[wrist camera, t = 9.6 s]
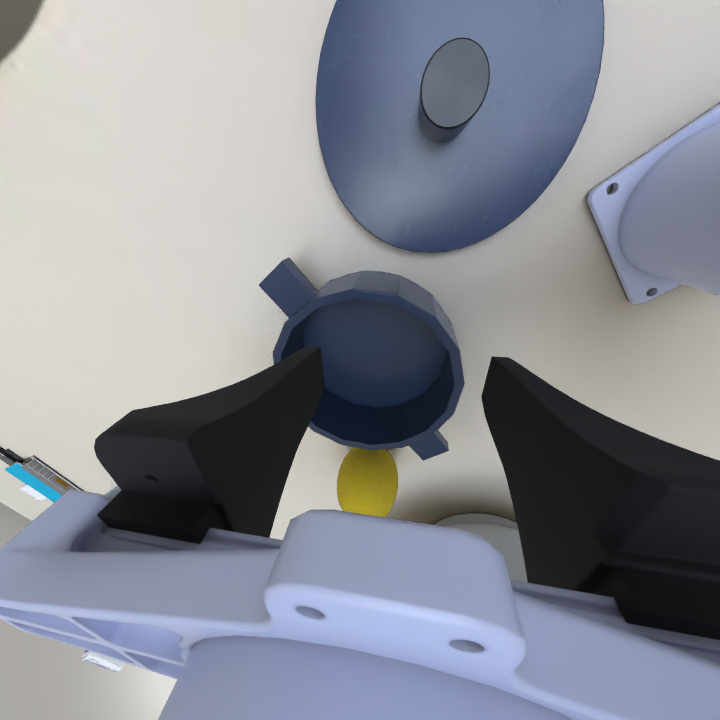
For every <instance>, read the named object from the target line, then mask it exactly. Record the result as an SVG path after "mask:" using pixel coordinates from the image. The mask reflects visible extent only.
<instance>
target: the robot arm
mask: <svg viewBox="0 0 720 720" xmlns="http://www.w3.org/2000/svg"><path fill="white" fill-rule="evenodd" d="M610 184H613V185H614V188H613V190H612V192H611V193H610V194H607V188H608V186H609V185H610ZM587 201H588V204H589V207H590V209H591V211H592V214H593V216H594V219H595V221H596V223H597V226H598V228H599V231H600V233H601V235H602V238H603V240H604V242H605V245H606V247H607V250H608V252H609V254H610V257H611V259H612V261H613V264H614V266H615V269H616V271H617V273H618V276H619V278H620V281H621V283H622V285H623V288H624V290H625V292H626V295H627V297H628V300H629V301H630V302H632V303H634V304H642V303H645V302H647V301H649V300H651V299H653V298H655V297H657V296H660V295H662V294H664V293H666V292H668V291H670V290H672V289H674V288H676V287H678V286H680V285H683V284H684V285H687V286H690V287H693V288H696V289H699V290H703V291H706V292H709V293H712V294H715V295H719V296H720V104H718V105H717V106H715V107H714V108H712V109H711V110H709V111H708V112H706V113H705V114H703V115H702V116H700V117H699V118H697V119H696V120H695V121H693V122H692V123H690V124H689V125H687V126H686V127H684V128H683V129H681V130H680V131H678V132H677V133H675V134H674V135H672V136H671V137H669V138H668V139H666V140H665V141H663V142H662V143H660V144H659V145H657V146H656V147H654V148H653V149H651V150H650V151H648V152H647V153H645V154H644V155H643V156H641V157H640V158H638V159H637V160H635V161H634V162H632V163H631V164H629V165H628V166H626V167H625V168H623V169H622V170H620V171H619V172H617V173H616V174H614V175H613V176H611V177H610V178H608V179H607V180H605V181H604V182H602V183H601V184H599V185H598V186H596V187H595V188H594V189H593V190H592V191H591V192H590V193H589V195H588V198H587ZM651 288H652V291H651V292H650V293H649V294H647V291H648V290H649V289H651ZM324 385H325V382H324V373H323V364H322V355H321V347H313V346H307V347H305V348H303V349H301V350H299V351H297V352H295V353H294V354H292V355H290V356H289V357H287V358H285V359H283V360H282V361H280V362H278V363H276V364H275V365H273V366H271V367H269V368H267V369H265V370H263V371H261V372H260V373H258V374H256V375H254V376H251V377H249V378H247V379H245V380H242V381H240V382H238V383H235V384H233V385H230V386H227V387H224V388H221V389H219V390H216V391H213V392H210V393H207V394H203V395H200V396H196V397H193V398H189V399H185V400H181V401H177V402H173V403H168V404H163V405H158V406H153V407H148V408H143V409H137V410H133V411H131V412H129V413H128V414H127V415H126V416H124V417H123V418H122V419H120V420H119V421H118V422H116V423H115V424H114V425H112V426H111V427H110V428H108V429H107V430H106V431H104V432H103V433H102V434H100V435H99V436H98V437H97V438H96V440H95V445H94V449H95V453H96V456H97V458H98V459H99V461H100V463H101V464H102V465H103V467H104V468H105V469H106V471H107V472H108V473H109V474H110V476H111V477H112V478H113V480H114V481H115V482H116V483H117V485H118V486H119V487H120V489H121V491H120V492H119V493H118V494H117V495H116V496H115V497H114V498H113V499H111V498H109V497H107V496H105V495H102V494H97V493H91V492H85V491H79V490H69V491H67V492H66V493H65V494H64V495H63V496H62V497H60V498H59V499H58V500H57V501H56V502H55V503H53V504H52V505H51V506H50V507H49V508H47V509H46V510H45V511H44V512H43V513H42V514H40V515H39V516H38V517H37V518H36V519H35V520H33V521H32V522H31V523H30V524H29V525H28V526H26V527H25V528H24V529H23V530H22V531H20V532H19V533H18V534H17V535H16V536H15V537H14V538H12V539H11V540H10V541H9V542H8V543H6V544H5V545H4V546H3V547H2V548H0V619H2V620H4V621H6V622H8V623H9V624H11V625H13V626H15V627H17V628H19V629H21V630H23V631H25V632H27V633H31V634H35V635H38V636H41V637H45V638H49V639H52V640H56V641H59V642H62V643H66V644H69V645H73V646H76V647H79V648H82V649H86V650H89V651H92V652H95V653H98V654H101V655H104V656H107V657H110V658H113V659H116V660H120V661H123V662H126V663H129V664H132V665H135V666H138V667H141V668H144V669H147V670H150V671H153V672H156V673H159V674H162V675H165V676H168V677H171V678H174V679H177V682H176V684H175V686H174V688H173V690H172V692H171V694H170V696H169V698H168V700H167V702H166V704H165V706H164V708H163V710H162V713H161V715H160V717H159V719H158V720H720V461H719V460H716V459H713V458H710V457H706V456H704V455H701V454H698V453H695V452H692V451H690V450H687V449H684V448H681V447H679V446H676V445H673V444H670V443H668V442H665V441H663V440H660V439H658V438H655V437H652V436H650V435H647V434H645V433H643V432H640V431H638V430H636V429H633V428H631V427H629V426H626V425H624V424H622V423H620V422H617V421H615V420H613V419H611V418H609V417H607V416H605V415H603V414H601V413H599V412H597V411H595V410H593V409H591V408H589V407H587V406H585V405H583V404H582V403H580V402H578V401H576V400H574V399H573V398H571V397H569V396H568V395H566V394H564V393H563V392H561V391H559V390H558V389H556V388H554V387H553V386H551V385H550V384H548V383H547V382H545V381H544V380H542V379H541V378H539V377H538V376H536V375H535V374H533V373H532V372H530V371H529V370H527V369H526V368H524V367H523V366H521V365H520V364H518V363H517V362H515V361H514V360H512V359H510V358H508V357H492V358H491V362H490V366H489V370H488V373H487V377H486V381H485V385H484V389H483V393H482V402H483V408H484V413H485V417H486V420H487V423H488V426H489V429H490V432H491V434H492V437H493V440H494V443H495V445H496V448H497V451H498V453H499V456H500V459H501V462H502V464H503V467H504V471H505V474H506V477H507V481H508V486H509V490H510V494H511V498H512V502H513V507H514V512H515V516H516V521H517V526H518V531H519V536H520V541H521V547H522V552H523V557H524V563H525V569H526V575H527V581H528V583H527V582H521V581H515V580H510V578H509V575H508V571H507V567H506V563H505V559H504V555H503V553H501V552H500V551H499V550H498V549H496V548H495V547H494V546H493V545H491V544H490V543H489V542H488V541H486V540H485V539H484V538H483V537H481V536H479V535H476V534H473V533H470V532H466V531H463V530H460V529H456V528H452V527H445V526H438V525H432V524H425V523H418V522H412V521H405V520H398V519H392V518H385V517H378V516H372V515H365V514H358V513H352V512H345V511H338V510H309V511H307V512H305V513H303V514H301V515H299V516H297V517H295V518H293V519H291V520H290V523H289V526H288V528H287V531H286V534H285V536H284V539H283V540H278V539H273V538H269V537H270V533H271V530H272V526H273V522H274V519H275V515H276V512H277V509H278V505H279V502H280V499H281V495H282V492H283V489H284V486H285V483H286V480H287V477H288V474H289V471H290V468H291V465H292V462H293V459H294V457H295V454H296V451H297V449H298V446H299V444H300V442H301V440H302V438H303V435H304V433H305V431H306V429H307V427H308V425H309V423H310V421H311V419H312V417H313V415H314V413H315V411H316V408H317V406H318V404H319V402H320V399H321V396H322V392H323V389H324Z"/></svg>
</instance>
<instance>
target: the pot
mask: <svg viewBox="0 0 720 720" xmlns="http://www.w3.org/2000/svg"><path fill="white" fill-rule="evenodd" d="M259 286H260V287H261V288H262V289H263V290H264V292H265V293H266V294H267V295H268V296H269V297H270V298H271V299H272V300H273V301H274V302H275V303H276V304H277V305H278V306H279V308H280V309H281V310H282V311H283V312H284V313H285V314H286V315H287V316H288V317H289V319H288V320H287V321H286V322H285V323H284V326H283V328H282V331H281V333H280V336H279V338H278V341H277V343H276V346H275V348H274V351H273V360H274V365H275V364H276V363H278V362H280V361H282V360H283V359H285V358H287V357H289V356H290V355H292V354H294V353H295V352H297V351H299V350H301V349H303V348H305V347H307V346H313V347H321V355H322V364H323V373H324V382H325V385H324V389H323V392H322V396H321V399H320V402H319V404H318V406H317V408H316V411H315V413H314V415H313V417H312V419H311V421H310V423H309V425H308V427H309V428H310V429H312V430H313V431H315V432H317V433H319V434H321V435H323V436H325V437H327V438H329V439H331V440H333V441H335V442H337V443H339V444H341V445H346V446H352V447H357V448H362V449H367V450H380V449H391V448H402V447H405V446H407V445H409V446H410V447H411V448H412V449H413V450H414V451H415V452H416V453H417V454H418V455H419V457H420V458H421V459H422V460H426V459H428V458H431V457H433V456H436V455H439V454H441V453H444V452H447V451H449V449H448V442H447V440H446V439H445V438H444V437H443V436H442V435H441V433H440V432H439V431H438V429H439V428H440V427H441V426H442V425H443V424H444V423H445V422H446V421H447V420H448V419H449V418H450V417H451V416H452V415H453V414H454V412H455V409H456V406H457V403H458V401H459V398H460V395H461V392H462V390H463V387H464V384H465V383H464V376H463V369H462V363H461V356H460V350H459V347H458V344H457V341H456V338H455V334H454V331H453V328H452V325H451V322H450V320H449V319H448V317H447V316H446V314H445V313H444V311H443V310H442V308H441V306H440V305H439V304H438V303H437V301H436V300H435V299H434V297H433V296H432V294H430V293H429V292H427V291H426V290H424V289H423V288H421V287H420V286H419V285H417V284H416V283H414V282H412V281H410V280H408V279H406V278H404V277H402V276H399V275H394V274H390V273H385V272H374V271H361V272H357V273H353V274H348V275H345V276H342V277H340V278H337V279H333V280H331V281H329V282H328V283H327V284H326V285H325V286H323V287H322V288H321V289H320V290H319V291H318V290H317V289H316V288H315V287H314V286H313V285H312V283H311V282H310V281H309V280H308V279H307V278H306V276H305V275H304V274H303V273H302V272H301V271H300V269H299V268H298V267H297V266H296V265H295V264H294V262H293V261H292V260H291V259H290V258H287V259H285V260H283V261H282V262H281V263H280V264H279V265H278V266H277V267H276V268H275V269H274V270H273V271H272V272H271V273H270V274H269V275H268V276H267V277H266V278H265V279H264V280H263V281H262V282H261V283H260V284H259Z"/></svg>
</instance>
